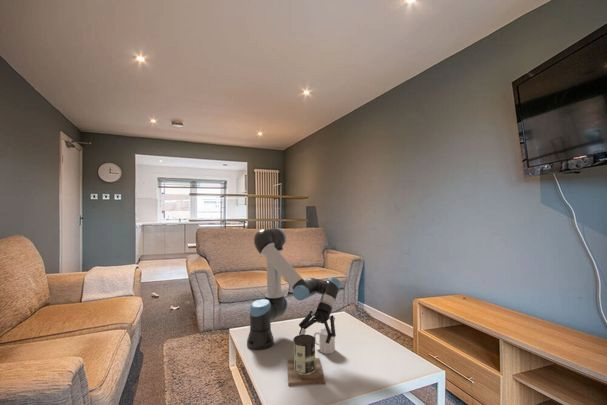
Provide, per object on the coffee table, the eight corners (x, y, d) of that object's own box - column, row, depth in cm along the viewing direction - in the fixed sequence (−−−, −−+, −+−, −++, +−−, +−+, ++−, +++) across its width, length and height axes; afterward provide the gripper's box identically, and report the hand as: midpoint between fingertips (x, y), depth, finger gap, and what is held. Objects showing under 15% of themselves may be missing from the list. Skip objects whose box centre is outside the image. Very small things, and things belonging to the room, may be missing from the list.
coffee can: (315, 363, 142) (315, 334, 143) (316, 375, 132) (315, 343, 132) (294, 363, 142) (293, 334, 143) (293, 375, 132) (292, 343, 132)
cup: (331, 355, 152) (331, 335, 153) (310, 350, 158) (310, 331, 158) (337, 348, 160) (336, 329, 160) (316, 344, 165) (316, 326, 165)
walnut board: (287, 361, 146) (287, 359, 146) (319, 360, 148) (319, 357, 148) (288, 385, 126) (288, 382, 127) (324, 383, 128) (324, 380, 128)
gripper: (349, 313, 148) (336, 356, 136) (308, 304, 162) (293, 342, 150) (345, 306, 144) (331, 349, 131) (303, 297, 158) (286, 336, 145)
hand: (310, 345), depth 140 cm, fingers open, 13 cm apart
